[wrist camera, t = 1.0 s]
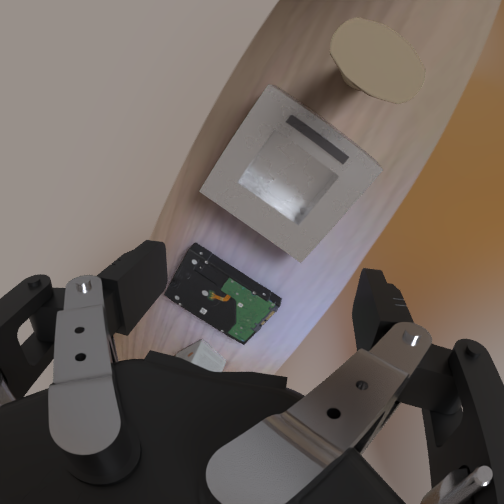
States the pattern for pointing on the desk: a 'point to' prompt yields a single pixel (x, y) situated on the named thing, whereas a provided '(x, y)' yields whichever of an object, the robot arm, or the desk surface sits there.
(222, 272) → the disk drive
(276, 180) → the socket block
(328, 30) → the desk surface
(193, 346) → the small box
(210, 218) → the desk surface
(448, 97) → the desk surface
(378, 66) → the handle
